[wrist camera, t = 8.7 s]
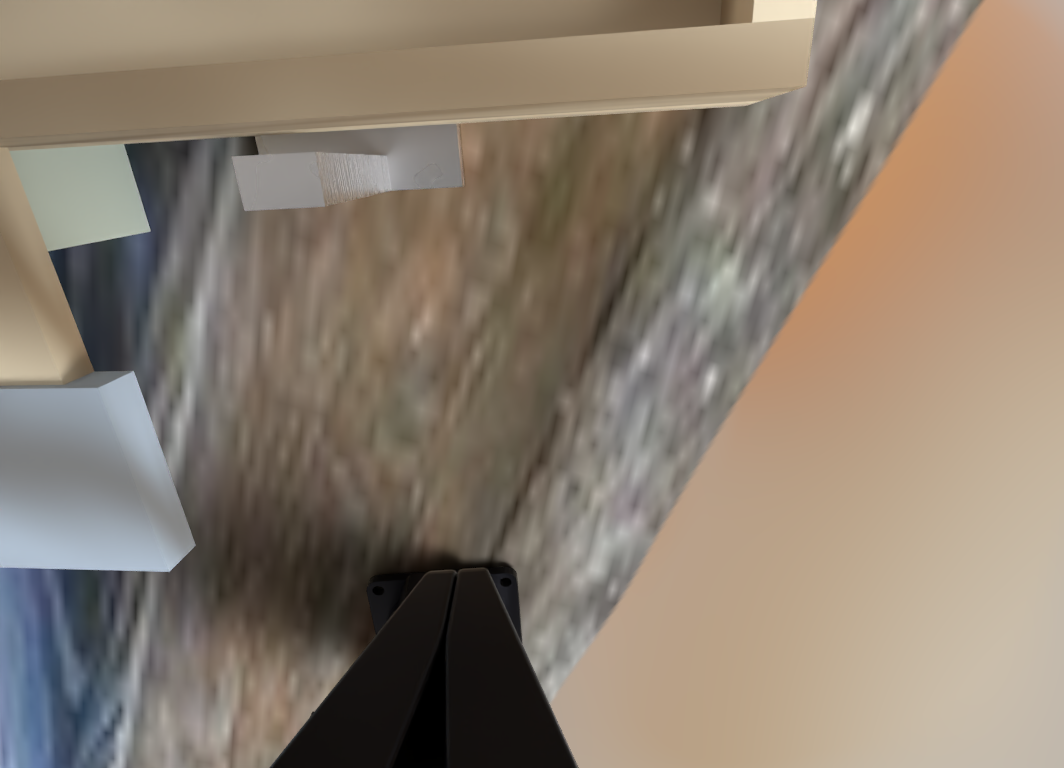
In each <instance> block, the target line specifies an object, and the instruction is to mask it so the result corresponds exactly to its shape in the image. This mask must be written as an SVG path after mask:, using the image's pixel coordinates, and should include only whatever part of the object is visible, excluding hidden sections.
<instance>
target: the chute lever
mask: <svg viewBox="0 0 1064 768" xmlns="http://www.w3.org/2000/svg"><path fill="white" fill-rule="evenodd" d="M816 5H817V0H0V567H4V568H42V569H81V570H119V571H157V572H170V571H171V570H172V569H173V568H174V567H175V566H176V565H177V564H178V563H179V562H180V561H181V560H182V559H183V558H184V557H185V556H186V555H187V554H188V553H189V552H190V551H191V550H192V549H193V548H194V547H195V546H196V544H195V542H194V539H193V536H192V533H191V530H190V528H189V525H188V522H187V519H186V516H185V513H184V511H183V508H182V505H181V502H180V499H179V497H178V494H177V491H176V488H175V485H174V483H173V480H172V477H171V474H170V471H169V469H168V466H167V463H166V460H165V457H164V455H163V452H162V449H161V446H160V443H159V441H158V438H157V435H156V432H155V429H154V427H153V424H152V421H151V418H150V415H149V412H148V410H147V407H146V404H145V401H144V398H143V396H142V393H141V390H140V387H139V384H138V382H137V379H136V376H135V373H134V371H101V372H94V369H93V367H92V364H91V362H90V359H89V356H88V354H87V351H86V349H85V346H84V344H83V341H82V338H81V336H80V333H79V331H78V328H77V325H76V323H75V320H74V318H73V315H72V313H71V310H70V307H69V305H68V302H67V300H66V297H65V294H64V292H63V289H62V287H61V284H60V281H59V279H58V276H57V274H56V271H55V269H54V266H53V263H52V261H51V258H50V256H49V253H48V250H47V248H46V245H45V243H44V240H43V237H42V235H41V232H40V230H39V227H38V225H37V222H36V219H35V217H34V214H33V212H32V209H31V206H30V204H29V201H28V199H27V196H26V194H25V191H24V188H23V186H22V183H21V181H20V178H19V175H18V173H17V170H16V168H15V165H14V162H13V160H12V157H11V155H10V152H9V151H18V150H34V149H50V148H67V147H83V146H99V145H115V144H132V143H148V142H164V141H180V140H197V139H213V138H229V137H245V136H262V135H278V134H294V133H310V132H327V131H343V130H359V129H375V128H392V127H408V126H424V125H440V124H457V123H473V122H489V121H505V120H522V119H538V118H554V117H570V116H587V115H603V114H619V113H635V112H652V111H668V110H684V109H700V108H717V107H733V106H747V105H750V104H753V103H756V102H759V101H762V100H765V99H768V98H772V97H775V96H778V95H781V94H784V93H787V92H790V91H793V90H796V89H799V88H802V87H806V84H807V76H808V68H809V60H810V52H811V45H812V37H813V29H814V21H815V13H816Z"/></svg>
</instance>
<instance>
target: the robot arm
mask: <svg viewBox="0 0 1064 768" xmlns="http://www.w3.org/2000/svg"><path fill="white" fill-rule="evenodd" d="M502 578H509V580H502ZM376 586H380V587H382V589H380V588H377V587H376ZM367 595H368V600H369V604H370V609H371V614H372V618H373V623H374V628H375V632H376V636H375V637H374V638H373V640H372V641H371V642H370V643H369V645H368V646H367V647H366V648H365V650H364V651H363V652H362V653H361V655H360V656H359V657H358V658H357V660H356V661H355V662H354V663H353V665H352V666H351V667H350V668H349V670H348V671H347V672H346V673H345V675H344V676H343V677H342V678H341V680H340V681H339V682H338V683H337V685H336V686H335V687H334V688H333V689H332V691H331V692H330V693H329V694H328V696H327V697H326V698H325V699H324V701H323V702H322V703H321V704H320V706H319V707H318V708H317V709H316V711H315V712H312V714H311V716H310V718H309V719H308V721H307V722H306V723H305V724H304V726H303V727H302V728H301V729H300V731H299V732H298V733H297V734H296V736H295V737H294V738H293V739H292V741H291V742H290V743H289V744H288V746H287V747H286V748H285V749H284V751H283V752H282V753H281V754H280V756H279V757H278V758H277V759H276V760H275V762H274V763H273V764H272V765H271V767H270V768H578V765H577V763H576V761H575V759H574V757H573V754H572V752H571V750H570V748H569V746H568V743H567V741H566V739H565V737H564V735H563V733H562V730H561V728H560V726H559V724H558V722H557V719H556V717H555V715H554V713H553V711H552V708H551V706H550V704H549V702H548V700H547V698H546V695H545V693H544V691H543V689H542V687H541V684H540V682H539V680H538V678H537V676H536V673H535V671H534V669H533V667H532V665H531V663H530V660H529V658H528V656H527V654H526V652H525V649H524V647H523V645H522V633H521V620H520V606H519V593H518V580H517V573H516V571H515V570H514V569H512V568H510V567H494V568H469V569H461V570H438V571H430V572H418V573H403V574H388V575H377V576H374V577H372V578H371V579H370V581H369V583H368V586H367Z"/></svg>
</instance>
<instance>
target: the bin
mask: <svg viewBox="0 0 1064 768" xmlns="http://www.w3.org/2000/svg"><path fill="white" fill-rule="evenodd" d="M9 152H10V155H11V157H12V160H13V162H14V165H15V168H16V170H17V173H18V175H19V178H20V181H21V183H22V186H23V188H24V191H25V194H26V196H27V199H28V201H29V204H30V206H31V209H32V212H33V214H34V217H35V219H36V222H37V225H38V227H39V230H40V232H41V235H42V237H43V240H44V243H45V245H46V248H47V250H48V251H52V250H58V249H63V248H68V247H73V246H78V245H83V244H89V243H94V242H99V241H104V240H109V239H115V238H120V237H125V236H130V235H135V234H140V233H146V232H151V230H150V227H149V223H148V220H147V217H146V214H145V211H144V207H143V204H142V201H141V198H140V194H139V191H138V188H137V185H136V182H135V178H134V175H133V172H132V169H131V165H130V162H129V159H128V156H127V153H126V149H125V146H124V144H115V145H99V146H83V147H67V148H50V149H34V150H18V151H9Z"/></svg>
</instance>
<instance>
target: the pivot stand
mask: <svg viewBox="0 0 1064 768" xmlns="http://www.w3.org/2000/svg"><path fill="white" fill-rule="evenodd" d="M255 139H256V144H257V148H258V153H259V155H249V156H231V158H232V162H233V166H234V170H235V174H236V178H237V182H238V187H239V191H240V195H241V199H242V203H243V207H244V211H253V210H272V209H290V208H308V207H326V206H330V205H334V204H338V203H342V202H346V201H350V200H355V199H359V198H363V197H367V196H371V195H375V194H379V193H384V192H388V191H393V190H411V189H430V188H448V187H463V186H465V183H464V172H463V161H462V150H461V139H460V128H459V123H457V124H440V125H424V126H408V127H392V128H375V129H359V130H343V131H327V132H310V133H294V134H278V135H262V136H255Z"/></svg>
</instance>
